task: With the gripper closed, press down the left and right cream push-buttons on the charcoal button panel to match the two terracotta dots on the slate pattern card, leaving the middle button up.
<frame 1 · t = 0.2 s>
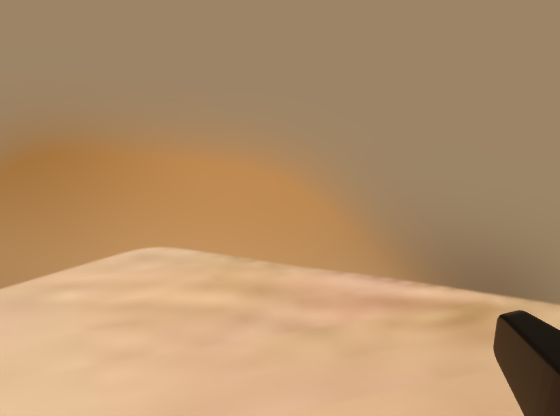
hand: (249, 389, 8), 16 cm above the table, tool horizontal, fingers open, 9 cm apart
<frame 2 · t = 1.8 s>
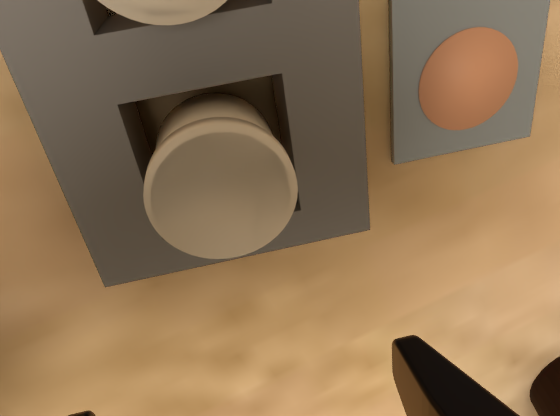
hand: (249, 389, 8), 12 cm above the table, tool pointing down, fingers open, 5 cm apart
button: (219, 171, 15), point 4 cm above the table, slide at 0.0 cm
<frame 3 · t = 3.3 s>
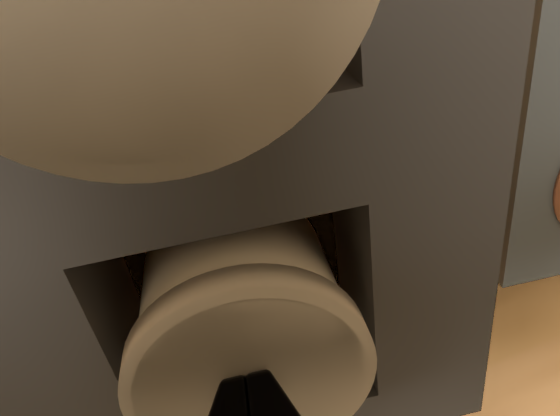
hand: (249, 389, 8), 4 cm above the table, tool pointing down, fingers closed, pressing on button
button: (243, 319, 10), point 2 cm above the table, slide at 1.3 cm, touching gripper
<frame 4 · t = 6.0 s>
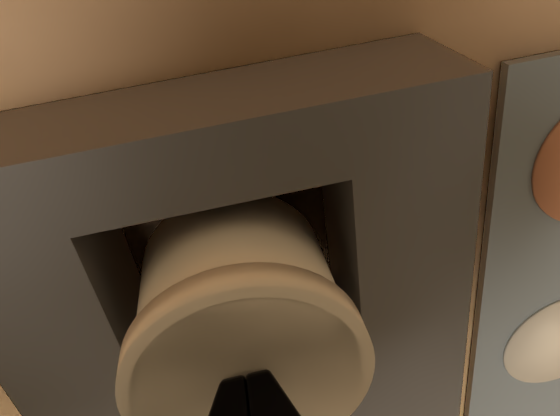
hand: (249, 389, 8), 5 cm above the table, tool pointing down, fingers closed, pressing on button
pattern card: (553, 333, 17), on the table
button panel: (269, 401, 16), on the table
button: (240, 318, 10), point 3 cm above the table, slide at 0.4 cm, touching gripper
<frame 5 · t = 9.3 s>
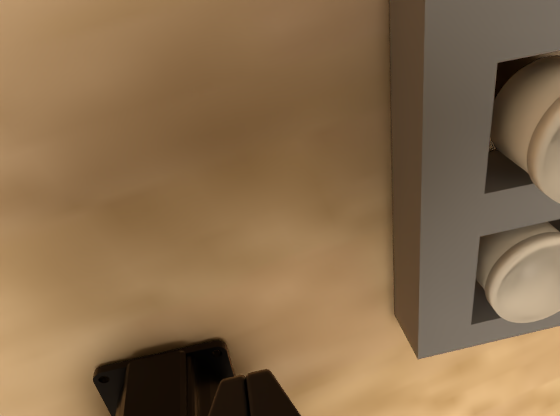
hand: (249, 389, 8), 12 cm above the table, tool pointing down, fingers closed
button panel: (509, 93, 20), on the table
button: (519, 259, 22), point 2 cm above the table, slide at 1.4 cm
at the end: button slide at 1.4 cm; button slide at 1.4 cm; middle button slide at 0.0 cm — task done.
